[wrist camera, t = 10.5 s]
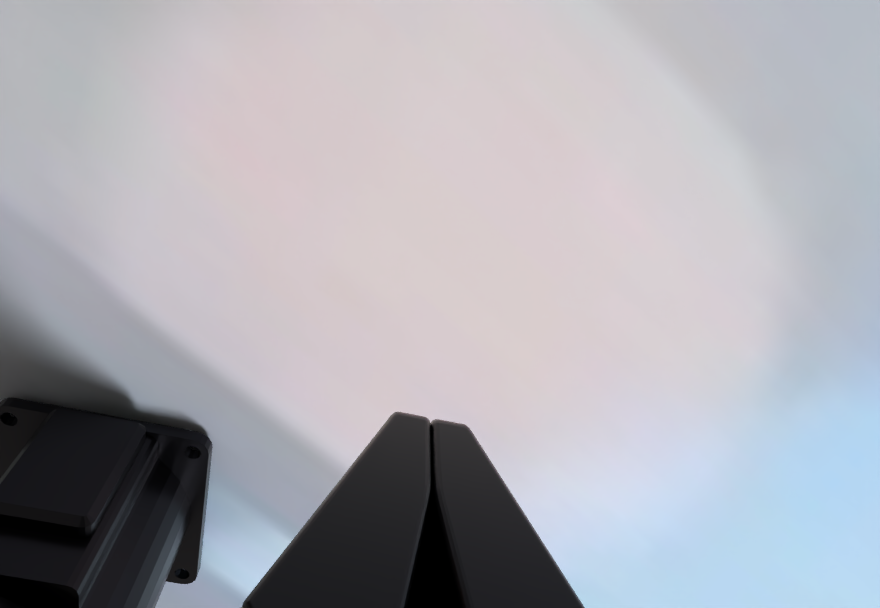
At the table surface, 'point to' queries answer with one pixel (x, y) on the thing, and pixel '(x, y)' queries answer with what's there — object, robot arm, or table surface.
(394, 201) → the table surface
